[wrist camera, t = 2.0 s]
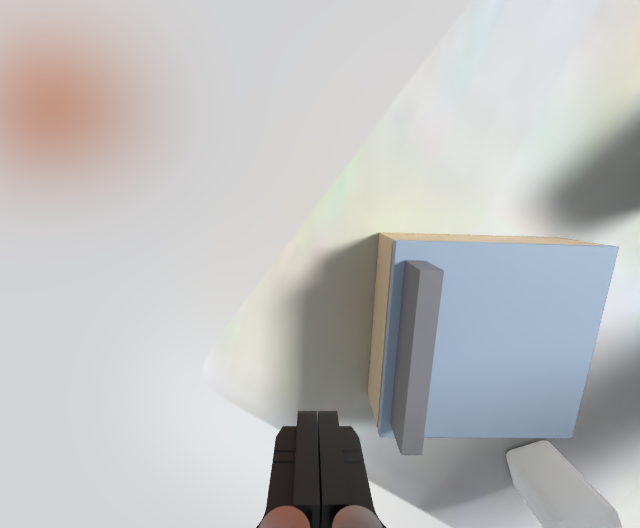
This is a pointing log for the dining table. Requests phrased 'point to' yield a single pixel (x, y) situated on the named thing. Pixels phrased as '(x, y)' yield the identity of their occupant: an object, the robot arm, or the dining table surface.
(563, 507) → the pepper shaker
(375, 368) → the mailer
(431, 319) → the lid
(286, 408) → the dining table surface
